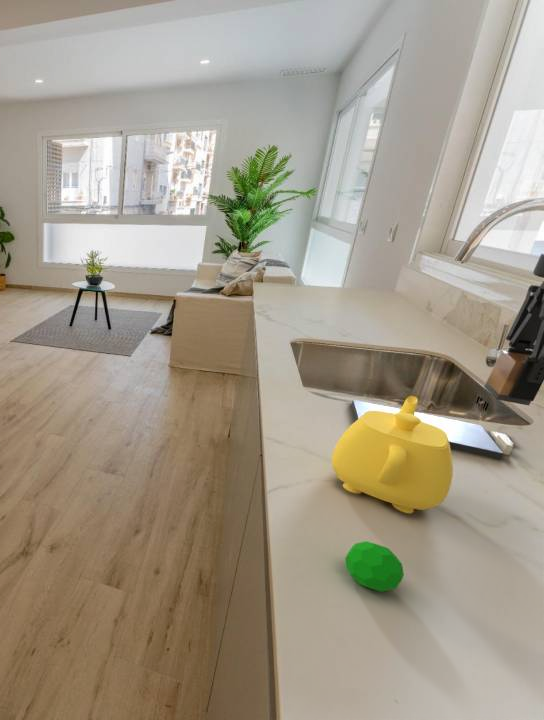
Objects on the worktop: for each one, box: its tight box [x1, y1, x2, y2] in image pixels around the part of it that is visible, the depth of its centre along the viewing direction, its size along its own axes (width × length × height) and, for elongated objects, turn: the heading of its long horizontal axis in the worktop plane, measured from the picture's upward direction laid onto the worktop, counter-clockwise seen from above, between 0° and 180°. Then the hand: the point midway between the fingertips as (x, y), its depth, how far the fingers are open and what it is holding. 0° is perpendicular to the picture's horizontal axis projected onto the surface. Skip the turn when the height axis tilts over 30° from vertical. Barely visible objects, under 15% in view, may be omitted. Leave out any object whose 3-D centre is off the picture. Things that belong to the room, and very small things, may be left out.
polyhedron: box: [344, 540, 405, 593], centre depth 47 cm, size 5×5×5 cm
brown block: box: [484, 350, 532, 406], centre depth 72 cm, size 4×6×7 cm, turn 150°
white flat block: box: [489, 430, 515, 446], centre depth 77 cm, size 2×4×1 cm, turn 150°
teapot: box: [331, 395, 454, 514], centre depth 61 cm, size 13×20×12 cm
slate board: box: [350, 399, 505, 461], centre depth 80 cm, size 20×11×2 cm, turn 61°
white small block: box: [494, 435, 514, 456], centre depth 74 cm, size 2×4×1 cm
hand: (512, 390), depth 73 cm, fingers closed on brown block, 6 cm apart
